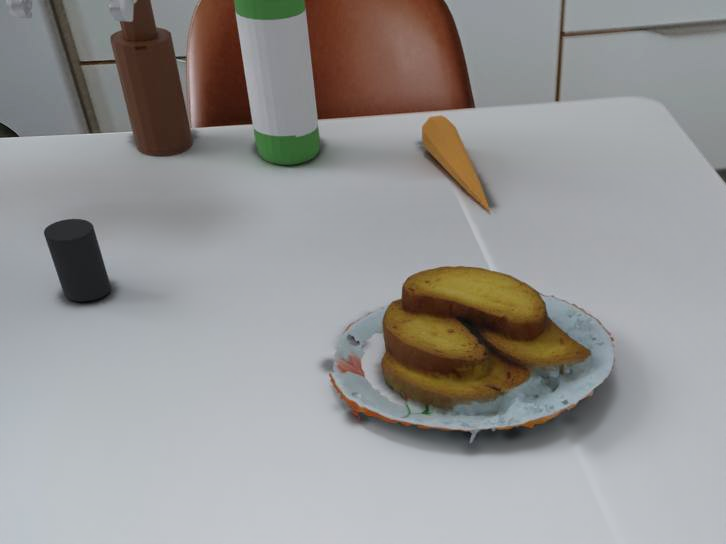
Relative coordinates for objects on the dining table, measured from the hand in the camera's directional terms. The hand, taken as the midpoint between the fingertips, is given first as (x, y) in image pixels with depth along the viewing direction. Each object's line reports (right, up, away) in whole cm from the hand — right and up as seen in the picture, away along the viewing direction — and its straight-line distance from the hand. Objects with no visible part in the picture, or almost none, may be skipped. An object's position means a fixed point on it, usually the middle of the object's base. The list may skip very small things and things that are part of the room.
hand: (69, 16), depth 87 cm
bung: (-1, -23, +7) cm, 24 cm away
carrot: (+35, -2, +27) cm, 44 cm away
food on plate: (+36, -33, 0) cm, 49 cm away
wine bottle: (+14, +3, +32) cm, 35 cm away
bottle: (-2, +5, +33) cm, 34 cm away
